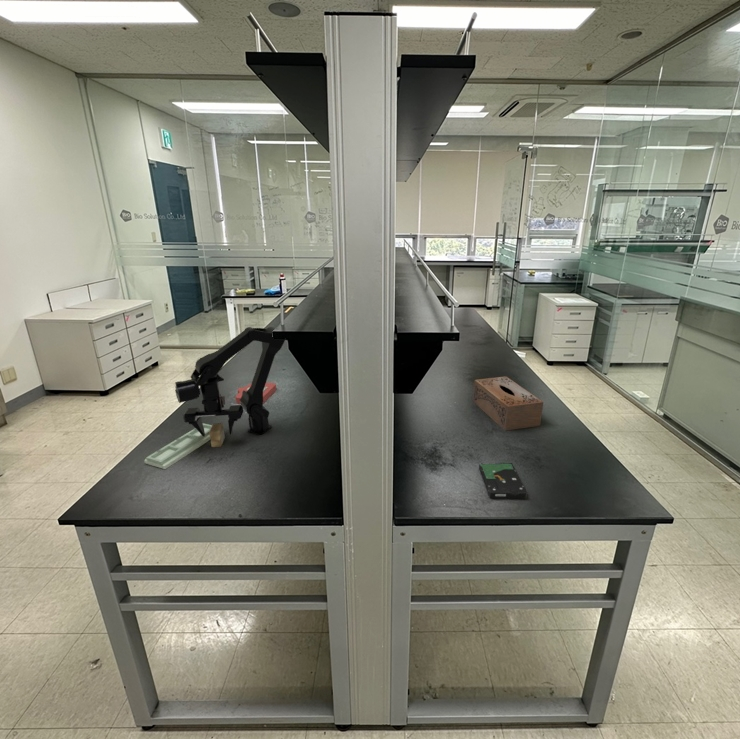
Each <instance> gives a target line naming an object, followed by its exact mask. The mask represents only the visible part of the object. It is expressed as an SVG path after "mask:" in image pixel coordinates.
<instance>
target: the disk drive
mask: <svg viewBox="0 0 740 739" xmlns="http://www.w3.org/2000/svg"><path fill="white" fill-rule="evenodd" d="M516 470H517V469H516V468H515V466H514V464H513V462H495V463H486V462H485V463H483V462H480V464H479V465H478V471H479V473H480V476H481V478H482V481H483V485H484V487H485V489H486V492H487V495H488V498H489V499H490V500H527V495H528V492H527V490H526V488H525V486H524V484H523V482H522V479H521V478H520V476H519V474H518V472H517V471H516Z"/></svg>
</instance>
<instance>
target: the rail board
mask: <svg viewBox="0 0 740 739" xmlns="http://www.w3.org/2000/svg"><path fill="white" fill-rule="evenodd" d="M202 424H203V427H204V431H205V436H204V437H203V436H202V435H201V434H200V432H199V431H198V430H197V429H196V428H195V427H193V429H191V430H189V432H187V433H184V434H183V435H182V436H180V437H177V438H176V439H175V440H173V441H172V442H170V443H168V444H167V445H165V446H163V447H161V448H160V449H157V450H156V451H155V452H153V453H151V454H149V455H148V456H146V458H145V459H144V460H143V461H144V464H146V465H150V466H153V467H156V468H158V469H163V470H166V469H168V468H170V467H171V466H173V465H174V464H175V463H177V462H179V461H180V460H182V459H183V458H185V457H186V456H188V455H189V454H191V453H192V452H193V451H195V450H197V449H198V448H200V447H202V446H203V445H205V444H206V443H208V442H209V441H211V440H210V434H209V431H210V429H211V427H212V425H213V424H212V425H211V424H208V423H203V422H202Z"/></svg>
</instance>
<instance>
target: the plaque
mask: <svg viewBox="0 0 740 739" xmlns="http://www.w3.org/2000/svg"><path fill="white" fill-rule="evenodd" d="M251 384H252V382H250V383H249V384H247V386H246V385H245V386H242V387H239V388H237V389H236V390H237V393H236V395H235V396H234V397H235V402H236V404H237V405H241V401H240V399H241V397H242V392H243V390H244V391H247V390H248V389H249V388H250V387H251ZM276 391H277V384H276V383H274V382H266V384H265V387H264V390H263V404H265V402H266V401H267V400H269V398H270V397H271V396H272V395H273V394H274V393H275V392H276Z"/></svg>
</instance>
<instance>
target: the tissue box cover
mask: <svg viewBox="0 0 740 739" xmlns="http://www.w3.org/2000/svg"><path fill="white" fill-rule="evenodd" d="M473 382H474V383H473V393H472V402H473V403H475V405H477V407H478V408H480V410H482V411H483V412H484V413H485V414H486V415H487V416H488V417H490V419H492V421H494V422H495V423H496V424H497V425H499V427H500V428H501V429H503V430H504V431H513V430H519V429H525V428H532V427H540V426H541V420H542V414H543V408H544V401H543V400H541V399H540V398H538V397H537V396H536V395H534V394H533V393H531V392H530V391H528V390H527V389H525V388H524V387H523V386H521V385H519V384H518V383H517V382H515V381H514V380H512V379H511V378H509V377H508V376H507V375H506V376H497V377H488V378H480V379H479V378H478V379H474V381H473Z"/></svg>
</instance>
